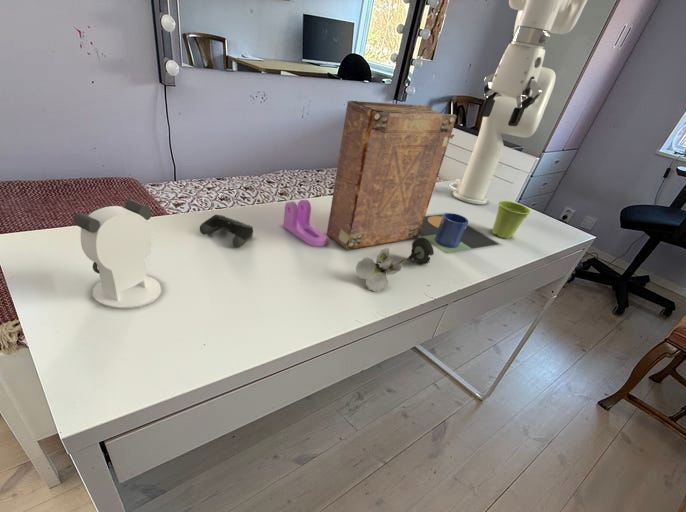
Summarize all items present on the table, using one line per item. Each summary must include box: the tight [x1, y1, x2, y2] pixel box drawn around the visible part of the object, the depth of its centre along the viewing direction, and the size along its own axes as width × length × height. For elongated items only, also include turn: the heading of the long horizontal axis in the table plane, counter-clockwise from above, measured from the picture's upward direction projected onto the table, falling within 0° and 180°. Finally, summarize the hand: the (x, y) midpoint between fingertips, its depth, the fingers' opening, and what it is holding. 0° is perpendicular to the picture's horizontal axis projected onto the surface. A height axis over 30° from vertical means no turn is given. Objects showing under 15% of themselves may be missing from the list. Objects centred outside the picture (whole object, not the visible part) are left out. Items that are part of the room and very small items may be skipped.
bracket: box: [282, 199, 328, 247], centre depth 98 cm, size 13×6×7 cm, turn 39°
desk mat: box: [419, 214, 499, 253], centre depth 116 cm, size 22×22×1 cm
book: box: [326, 100, 457, 251], centre depth 96 cm, size 25×9×30 cm, turn 123°
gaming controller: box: [198, 214, 254, 248], centre depth 92 cm, size 12×8×5 cm, turn 63°
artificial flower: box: [355, 237, 435, 293], centre depth 89 cm, size 9×22×10 cm, turn 129°
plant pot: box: [491, 200, 532, 240], centre depth 118 cm, size 9×9×9 cm
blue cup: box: [435, 212, 469, 248], centre depth 108 cm, size 7×7×7 cm
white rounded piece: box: [73, 198, 162, 310], centre depth 67 cm, size 12×11×15 cm
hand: (498, 121), depth 104 cm, fingers open, 9 cm apart
